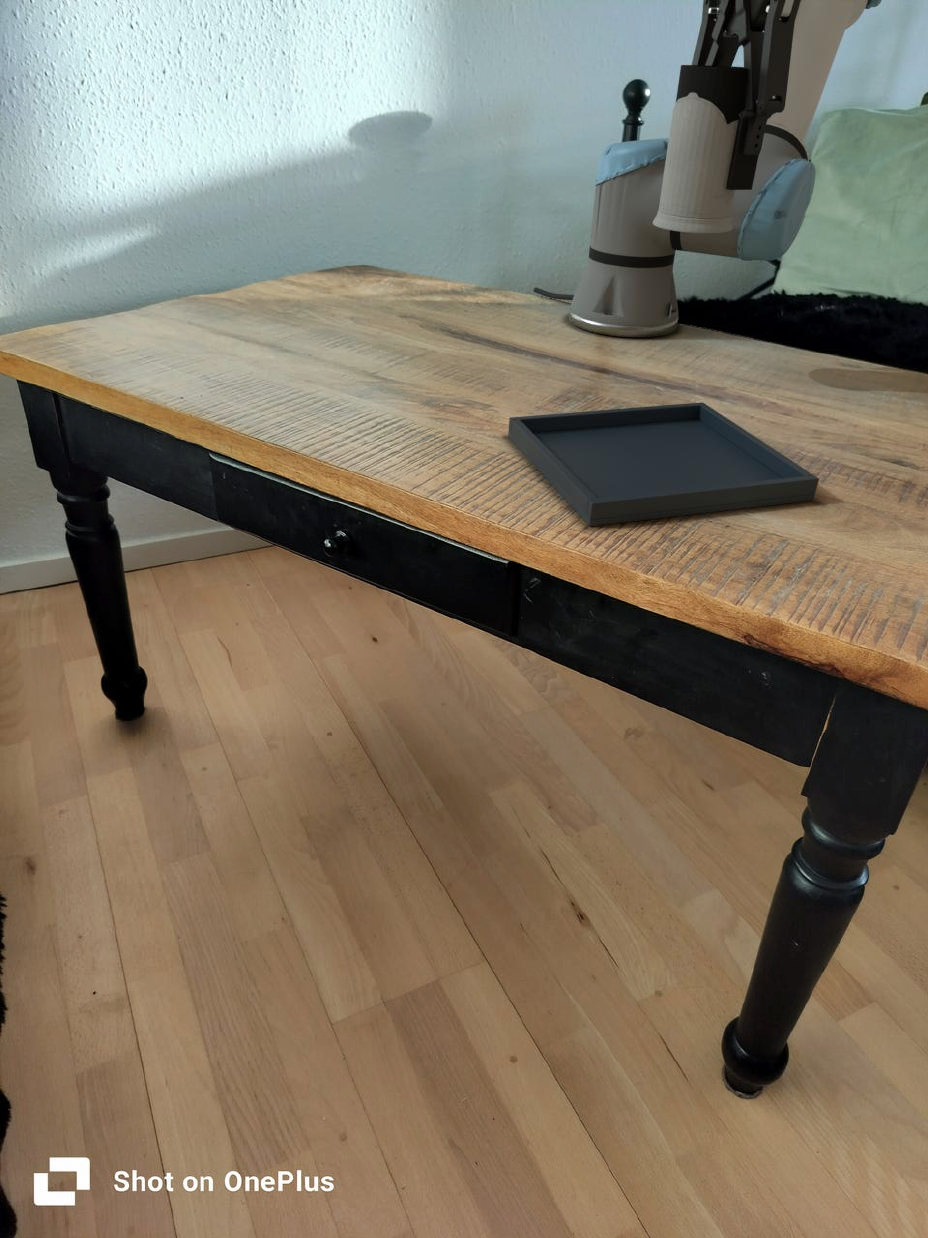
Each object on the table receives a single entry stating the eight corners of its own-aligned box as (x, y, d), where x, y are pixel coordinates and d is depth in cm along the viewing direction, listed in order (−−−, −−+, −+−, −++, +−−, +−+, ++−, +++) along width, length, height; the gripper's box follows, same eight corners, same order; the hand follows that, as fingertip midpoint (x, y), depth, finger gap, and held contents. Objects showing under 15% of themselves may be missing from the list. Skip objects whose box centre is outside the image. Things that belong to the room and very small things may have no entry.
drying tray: (507, 437, 86) (509, 417, 85) (699, 421, 92) (702, 401, 90) (589, 526, 70) (592, 503, 69) (813, 500, 76) (819, 478, 75)
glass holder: (637, 223, 97) (657, 64, 88) (706, 211, 105) (731, 64, 97) (704, 236, 91) (733, 68, 83) (771, 222, 100) (804, 68, 91)
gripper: (675, -75, 90) (642, 170, 102) (796, -98, 73) (739, 198, 86) (737, -70, 92) (698, 170, 104) (869, -91, 75) (803, 197, 88)
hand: (716, 183), depth 95 cm, fingers closed on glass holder, 8 cm apart
